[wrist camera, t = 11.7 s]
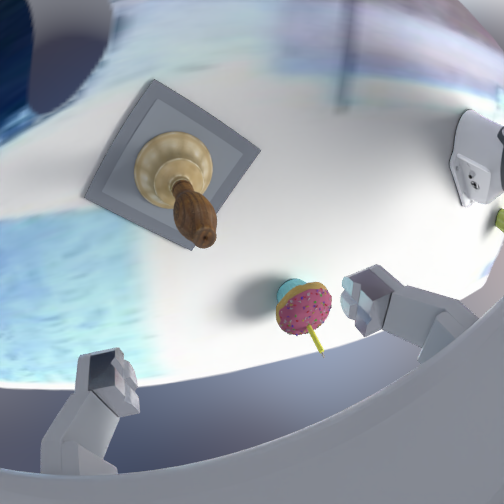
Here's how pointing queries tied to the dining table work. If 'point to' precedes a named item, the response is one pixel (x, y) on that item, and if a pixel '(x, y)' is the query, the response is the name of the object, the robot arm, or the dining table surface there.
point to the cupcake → (302, 308)
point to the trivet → (146, 128)
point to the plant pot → (500, 220)
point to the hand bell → (179, 183)
